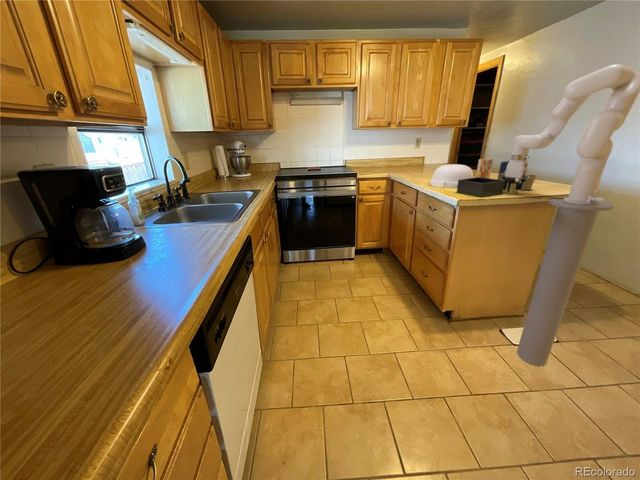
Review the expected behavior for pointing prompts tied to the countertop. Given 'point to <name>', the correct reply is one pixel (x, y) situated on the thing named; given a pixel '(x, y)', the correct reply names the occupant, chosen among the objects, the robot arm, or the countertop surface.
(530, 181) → the flower pot
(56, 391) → the countertop surface
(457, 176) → the dome cover
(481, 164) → the candy box
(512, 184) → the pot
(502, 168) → the canister
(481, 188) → the dark gray open box
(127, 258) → the countertop surface
